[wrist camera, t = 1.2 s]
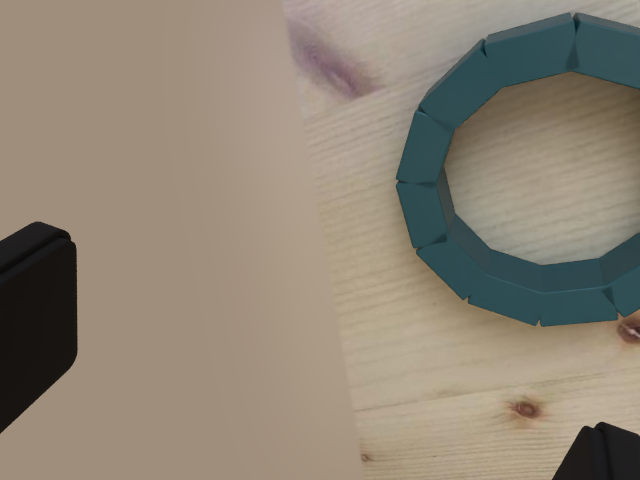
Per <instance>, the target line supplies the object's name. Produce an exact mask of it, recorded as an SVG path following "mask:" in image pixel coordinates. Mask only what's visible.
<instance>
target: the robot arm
mask: <svg viewBox="0 0 640 480" xmlns="http://www.w3.org/2000/svg"><path fill="white" fill-rule="evenodd" d="M76 257H77V255H76V245H75V243H74V242H72V241H71V237H70V235H69V233H68V232H66V231H65V230H62V229H59V228H56V227H53V226H51V225H48V224H45V223H42V222H34V223H31V224H29V225H28V226H26V227H24V228H22V229H21V230H19V231H17V232H15V233H14V234H12V235H10V236H8V237H7V238H5V239H3V240H1V241H0V433H1V432H3V431H4V430H5V429H6V428H7V427H8V426H9V425H10V424H11V423H12V422H13V421H14V420H15V419H16V418H18V417H19V416H20V415H21V414H22V413H23V412H24V411H25V410H26V409H27V408H28V407H29V406H30V405H31V404H32V403H34V402H35V400H37V399H38V398H39V397H40V396H41V395H42V394H43V393H44V392H45V391H46V390H47V389H48V388H50V386H52V385H53V384H54V383H55V382H56V381H57V380H58V379H59V378H60V377H61V376H62V375H63V374H64V373H65V372H67V371H68V370H69V369H70V367H71V366H72V365H73V363H74V361H75V359H76V356H77V263H76V262H77V260H76V259H77V258H76ZM552 480H640V436H639V435H638V434H636V433H633V432H630V431H627V430H624V429H621V428H619V427H616V426H613V425H610V424H607V423H605V422H599V423H598V424H597V425H596V426H595V427H594V428H591V427H589V426H584V427H583V428H582V429H581V431H580V432H579V434H578V436H577V437H576V439H575V441H574V442H573V444H572V446H571V448H570V449H569V451H568V453H567V454H566V456H565V458H564V460H563V461H562V463H561V465H560V467H559V468H558V470H557V472H556V473H555V475H554V477H553V479H552Z"/></svg>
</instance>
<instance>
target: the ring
mask: <svg viewBox="0 0 640 480" xmlns="http://www.w3.org/2000/svg"><path fill="white" fill-rule="evenodd" d="M569 71H572V72H576V73H580V74H584V75H587V76H591V77H595V78H599V79H602V80H606V81H610V82H614V83H617V84H621V85H625V86H628V87H632V88H636V89H639V90H640V28H638V27H634V26H630V25H626V24H622V23H618V22H614V21H610V20H606V19H602V18H598V17H594V16H590V15H586V14H582V13H576V14H575V16H574V19H573V18H572V16H571V14H570V13H565V14H562V15H558V16H555V17H551V18H547V19H544V20H540V21H537V22H533V23H529V24H526V25H522V26H519V27H515V28H512V29H508V30H504V31H501V32H497V33H494V34H490V35H488V37H487V40H486V41H485V40H484V39H481V40H480V41H479V42H478V43H477V44H476V45H475V46H474V47H473V48H472V49H471V50H470V51H469V52H468V53H467V54H466V55H465V56H464V57H463V58H461V59H460V60H459V61H458V62H457V63H456V64H455V65H454V66H453V67H452V68H451V69H450V70H449V71H448V72H447V73H446V74H445V75H444V76H443V77H442V78H441V79H440V80H439V81H438V82H437V83H435V84H434V85H433V86H432V87H431V88H430V89H429V90H428V92H427V93H426V95H425V96H424V98H423V99H422V101H421V102H420V104H419V106H418V108H417V109H416V111H415V113H414V117H413V120H412V123H411V127H410V130H409V134H408V137H407V141H406V144H405V148H404V151H403V155H402V158H401V162H400V165H399V169H398V172H397V175H396V179H397V180H398V182H397V184H396V188H397V192H398V195H399V199H400V203H401V206H402V210H403V213H404V217H405V221H406V224H407V228H408V232H409V235H410V239H411V242H412V246H413V248H417V251H416V254H417V255H418V256H419V257H420V258H421V259H422V260H423V261H424V262H425V263H426V264H427V265H428V266H429V267H430V268H431V269H432V270H433V271H434V272H435V273H436V274H437V275H438V276H439V277H440V278H441V279H442V280H443V281H444V282H445V283H446V284H447V285H448V286H449V287H450V288H451V289H452V290H453V291H454V292H455V293H456V294H457V295H458V296H459V297H460V298H461V299H462V300H464V299H466V298H467V297H468V303H469V304H472V305H475V306H478V307H481V308H483V309H486V310H489V311H492V312H495V313H498V314H501V315H504V316H507V317H510V318H513V319H516V320H519V321H522V322H525V323H528V324H531V325H534V326H536V325H537V323H538V321H539V319H540V324H541V326H542V327H545V326H556V325H567V324H578V323H589V322H601V321H612V320H618V313H617V311H618V312H619V313H620V314H621V315H622V316H623V317H626V316H628V315H630V314H632V313H633V312H635V311H637V310H639V309H640V233H638V234H636V235H635V236H633V237H632V238H630V239H629V240H627V241H625V242H624V243H622V244H621V245H619V246H618V247H616V248H614V249H613V250H611V251H610V252H608V253H607V254H605V255H603V256H602V257H600V258H598V259H590V260H583V261H575V262H567V263H559V264H551V265H543V266H541V265H538V264H535V263H532V262H529V261H526V260H523V259H520V258H516V257H513V256H510V255H507V254H504V253H501V252H498V251H495V250H492V249H490V248H489V247H488V246H487V245H486V244H485V243H484V242H483V241H482V240H481V239H480V238H479V237H478V236H477V235H476V234H475V233H474V232H473V231H472V230H471V229H470V228H469V227H468V226H467V225H466V224H465V223H464V222H463V221H462V220H461V219H460V218H459V217H458V216H457V215H456V214H455V210H454V206H453V202H452V198H451V194H450V190H449V186H448V182H447V177H446V173H445V169H444V163H445V160H446V157H447V154H448V151H449V147H450V144H451V141H452V138H453V135H454V132H455V129H456V128H458V127H459V126H460V125H461V124H462V123H463V122H464V121H465V120H467V119H468V118H469V117H470V116H471V115H472V114H473V113H475V112H476V111H477V110H478V109H479V108H480V107H481V106H482V105H484V104H485V103H486V102H487V101H488V100H489V99H490V98H491V97H493V96H494V95H495V94H496V93H497V92H498V91H499V90H500V89H502V88H504V87H508V86H512V85H516V84H520V83H524V82H528V81H532V80H536V79H541V78H545V77H549V76H553V75H557V74H561V73H565V72H569Z"/></svg>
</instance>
